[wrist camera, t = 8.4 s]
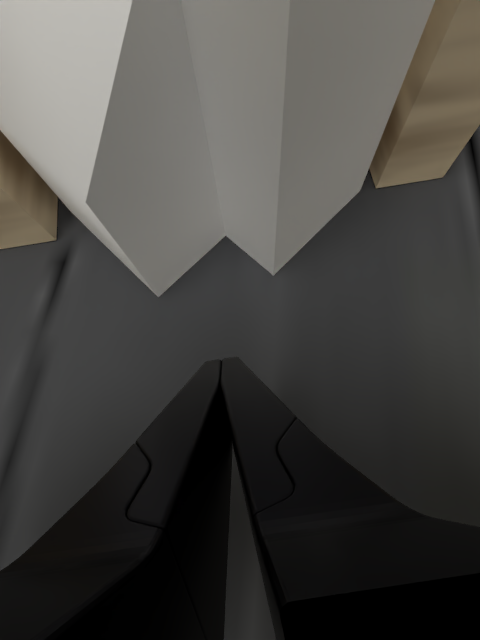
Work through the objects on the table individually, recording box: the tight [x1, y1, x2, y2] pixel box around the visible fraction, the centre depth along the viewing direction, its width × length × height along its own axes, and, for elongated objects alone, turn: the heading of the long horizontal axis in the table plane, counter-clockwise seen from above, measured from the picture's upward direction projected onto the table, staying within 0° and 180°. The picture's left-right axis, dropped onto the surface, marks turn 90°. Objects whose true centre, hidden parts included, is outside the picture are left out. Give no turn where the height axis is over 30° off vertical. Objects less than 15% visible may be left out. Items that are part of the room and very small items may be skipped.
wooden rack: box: [0, 0, 480, 249], centre depth 16 cm, size 12×24×9 cm, turn 98°
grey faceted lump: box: [0, 0, 435, 297], centre depth 13 cm, size 11×11×12 cm
